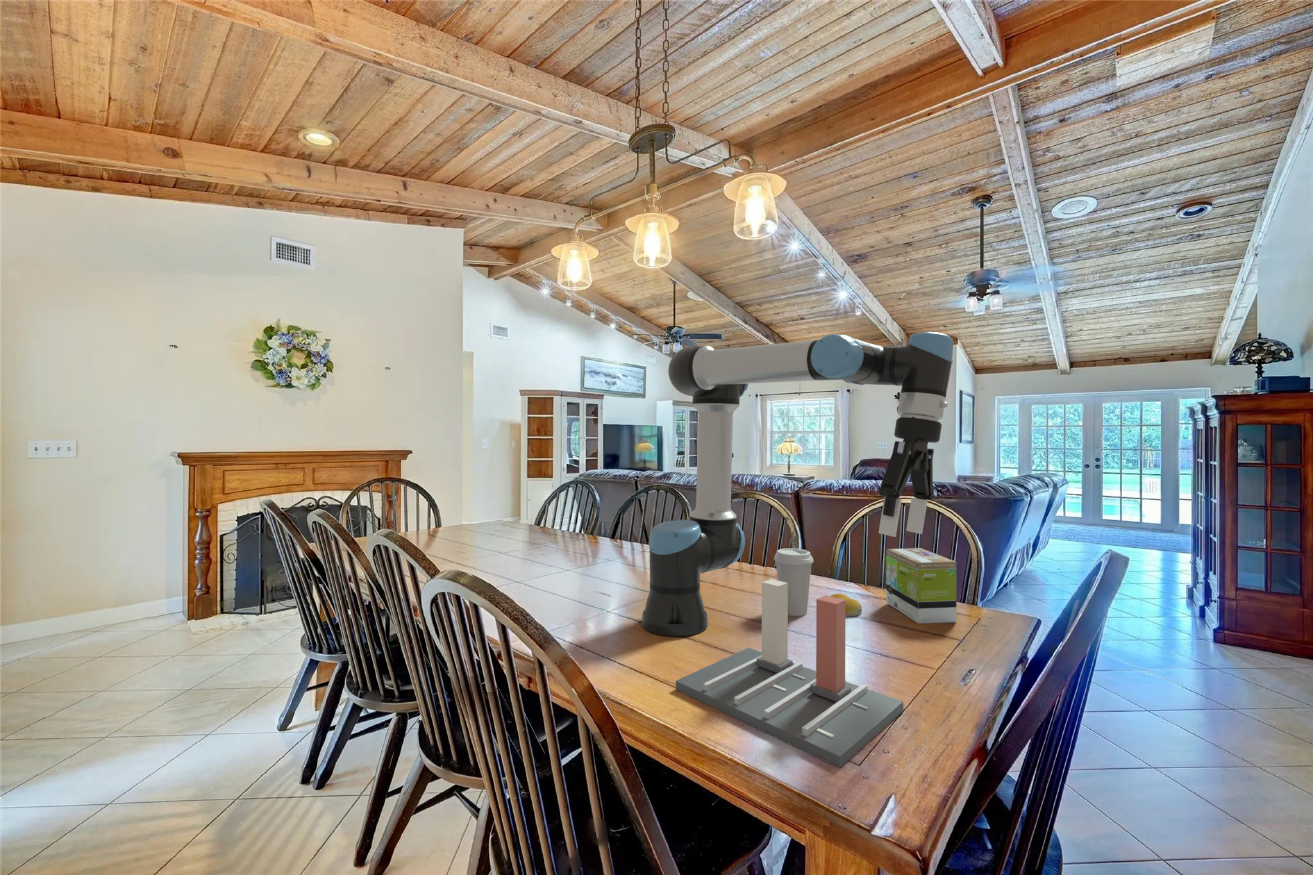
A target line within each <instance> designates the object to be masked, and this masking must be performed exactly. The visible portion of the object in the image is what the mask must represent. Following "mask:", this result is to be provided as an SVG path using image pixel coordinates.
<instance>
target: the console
mask: <svg viewBox="0 0 1313 875" xmlns="http://www.w3.org/2000/svg"><path fill="white" fill-rule="evenodd" d="M761 656H762V651H760V650H757V649H754V648H751V647H747V648H745V649H742V650H740V651H738V652H736V653H733V654H731V655H729V656H727V657H724V658H723V659H722V658H721V659H720V660H718V661H716V662H714V663H711V664H709V665H707V666H705V667H703V668H701V669H699V670H696V671H694V672H692V673H690V674H688V675H685V676H683V677H681V678H679V679H677V680H675V690H676V691H678V692H680V693H683V694H684V695H686V696H689V697H691V698H693V699H695V700H697V701H699V702H701V703H703V704H706V705H707V706H710V707H712V708H713V709H716V710H718V711H720V712H722V713H724V714H727V715H728V716H731V717H733V718H735V719H737V720H739V721H741V722H742V723H746V724H747V725H749V726H751V727H753V728H756V729H757V730H759V731H762V732H763V733H766V734H768V735H770V736H772V737H775V738H776V739H778V740H781V741H783V742H785V743H787V744H790V745H791V746H793V747H795V748H797V749H799V750H802V751H804V752H806V753H808V754H810V755H812V756H814V757H816V758H818V759H820V760H822V761H825V762H827V763H829V764H831V765H833V766H835V767H837V768H839V769H840V768H841V767H843V766H844V765H845V764H846V763H847V762H848V761H849V760H851V758H852V757H854V756H855V755H856V754H857V753H858V752H860V751H861V750H862V748H864V747H865V746H867V744H868V743H870V742H871V740H873V739H874V738H875V737H876V736H877V735H879V733H880V732H882V731H883V730H884V729H885V728H886V727H887V726H888V725H889V724H890V723H892V722H893V721H894V720H896V718H898V716H900V715H901V714H902V713H903V712H904V701H903V700H900V699H896V698H893V697H891V696H889V695H886V694H882V693H880V692H877V691H874V690H871V689H868V685H866V684H861V685H857V684H854V683H851V682H849V681H847V680H845V685H847V686H850V687H851V693H850V694H848V695H847V696H845V697H844V698H843V699H841V700H840V701H838V702H836V701H833V700H831V699H828V698H825V697H823V696H820V695H818V694H815V693H812V692H810V684H812V683H813V682H815V681H816V669H815V670H814V669H812V668H808V667H805V666H803V663H802V662H800V661H798V662H796V663H794V662H793V665H792V666H790V667H789V668H787V669H785V670H783V671H781V672H779V673H776V672H773V671H771V670H768V669H765V668H763V667H760V666H757V658H759V657H761Z"/></svg>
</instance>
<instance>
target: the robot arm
mask: <svg viewBox="0 0 1313 875" xmlns="http://www.w3.org/2000/svg"><path fill="white" fill-rule="evenodd" d="M954 344H955V343H954V340H953V338H952V337H951V336H950V335H947V334H945V333H940V332H933V331H927V332H926V331H925V332H921V331H920V332H917V333H916V332H915V333H913V334H911V335H910V336H909V338H908V342H907V344H905V345H878V344H877V345H876V344H874V343H873V344H872V343H868V342H866V341H863V340H860V339H856V338H854V337H851V336H850V335H849V336H848V335H846V334H835V333H833V334H831V333H830V334H828V335H824V336H822V337H821V338H819V339H813V340H811V339H810V340H804V341H803V340H802V341H791V342H780V343H771V344H761V345H751V346H742V347H741V346H740V347H732V348H730V347H729V348H721V349H714V348H713V347H712V346H709V345H703V346H702V345H701V346H686V347H684V348H681V349H679V350H678V351H677V352H676V353H674V355H673V356H672V358H671V359H670V361H669V364H668V368H667V369H668V371H667V372H668V378H669V381H670V383H671V385H672V386H673V388H674V389H675V390H676V391H678V392H679V393H681V394H682V395H685V396H690V397H692V407H694V408H695V409H696V411H697V414H698V418H697V421H698V422H697V453H696V454H697V455H696V457H697V458H696V460H697V462H696V493H695V494H696V502H695V503H696V504H695V508H694V510H692V511H691V512H690V513H689V519H676V520H667V521H663V522H661V523H658V524H656V525H655V526H653V527H652V529H651V531H650V536H649V538H650V539H649V544H648V548H649V593H648V596H647V599H646V603H645V606H644V610H643V611H642V616H641V625H642V628H643V629H644V630H646V631H647V632H649V633H652V634H655V635H659V636H667V637H687V636H692V635H697V634H699V633H702V632H704V631H705V630H707V628H708V627H709V626H708V623H709V622H708V618H709V617H708V614H707V611H706V610H705V606H704V602H703V597H702V594H701V574H704V573H708V572H711V571H715V570H721V569H725V568H727V567H729V566H730V565H733V564H735V563H737V561H738V560H739V559H740V558H741V557H742V556H743V553H744V550H745V546H746V539H745V532H744V531H743V530H742V529H741V525H740V524H739V523H738V522H737V517H738V516H737V514H736V513H735V512H734V511H733V510H732V508H731V506H732V505H731V504H732V502H731V501H732V469H733V464H732V463H733V432H734V431H733V429H734V428H733V424H734V412H735V411H736V410H737V409H738V408H739V407H740V399H741V397H742V396H743V395H744V394H745V392H746V391H747V389H748V387H749V384H761V383H762V384H764V383H765V384H766V383H784V382H785V383H787V382H788V383H789V382H806V381H807V382H810V381H843V382H845V383H847V384H854V385H860V386H863V385H874V386H875V385H877V386H895V387H897V386H898V387H900V386H901V390H900V394H899V399H898V407H897V414H898V415H899V417H897V419H896V422H895V426H894V433H893V434H894V437H895V438H897V439H901V440H902V441H899V440H895V441H894V443H893V448H892V449H893V450H892V453H891V456H890V459H889V462H888V464H887V467H886V470H885V473H884V475H883V478H882V481H881V484H880V486H879V490H878V495H879V496H880V497H881V496H882V497H883V501H882V502H883V503H882V509H881V514H880V515H881V516H880V521H879V529H878V534H881V535H885V536H889V537H893V538H894V537H895V538H896V537H897V531H898V524H899V519H900V513H901V512H900V511H901V505H902V499H901V498H900V497H901V495H902V494H903V493H902V492H903V491H904V489H905V487H906V485H907V482H908V480H909V478H910V477H911V478H910V479H911V485H912V486H911V487H912V491H913V497H911V498H910V504H909V505H910V506H909V510H908V518H907V522H906V523H907V524H906V529H905V531H906V532H910V533H915V534H919V535H922V534H923V531H924V530H923V529H924V525H925V519H926V518H925V517H926V511H927V505H928V501H931V502H933V501H934V500H933V499H934V495H933V494H934V492H933V491H934V490H933V488H934V486H933V485H934V484H933V483H934V482H933V481H934V480H933V478H934V477H933V475H934V474H933V471H934V470H933V465H934V464H933V461H934V460H933V459H934V453H935V449H934V448H931V447H928V444H929V443H933V444H934V443H935V444H936V443H939V442H940V439H941V433H942V426H943V424H942V422H940V421H939V420H942V419H944V412H945V409H946V408H948V407H949V404H948V402H947V401H946V398H947V393H948V392H947V391H948V387H949V382H950V381H949V380H950V375H951V370H952V364H953V362H954V361H953V355H954Z"/></svg>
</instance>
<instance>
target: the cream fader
mask: <svg viewBox="0 0 1313 875" xmlns="http://www.w3.org/2000/svg"><path fill="white" fill-rule="evenodd" d="M788 616H789V615H788V583H786V582H781V581H778V579H777V580H776V579H772V578H771V579H767V580H764V581H762V582H761V652H762V656H761V657H759V658H757V666H760V667H763V668H765V669H768V670H771V671H773V672H776V673H779V672H781V671H783V670H785V669H787V668H789V667H790V666H792V665H793V663H794V662H793V660H792V659H789V658H788V655H789V654H788V652H789V651H788V650H789V649H788V643H789V642H788V636H789V635H788V634H789V633H788V632H789V629H788V626H789V625H788V622H789V621H788V620H789V618H788Z"/></svg>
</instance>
